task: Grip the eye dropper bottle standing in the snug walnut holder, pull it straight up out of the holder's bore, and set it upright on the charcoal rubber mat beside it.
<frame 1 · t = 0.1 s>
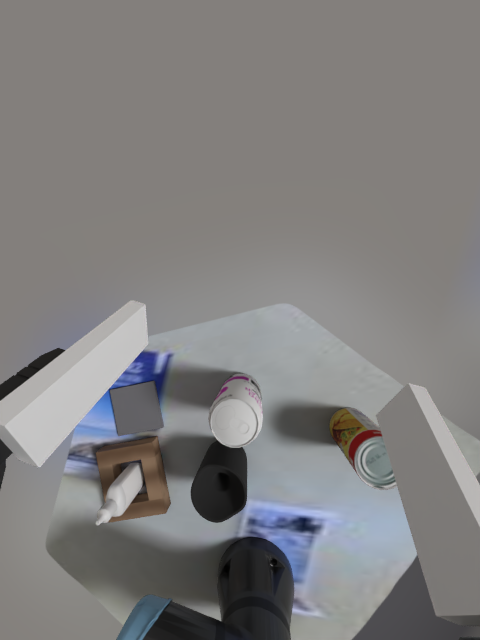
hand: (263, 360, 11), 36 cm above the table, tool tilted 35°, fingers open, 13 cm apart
bottle holder: (136, 474, 48), on the table
rubber mat: (137, 407, 49), on the table
pen holder: (226, 458, 47), on the table
canned food: (348, 426, 46), on the table
eye dropper bottle: (137, 473, 49), resting in bottle holder
supplement can: (241, 391, 47), on the table
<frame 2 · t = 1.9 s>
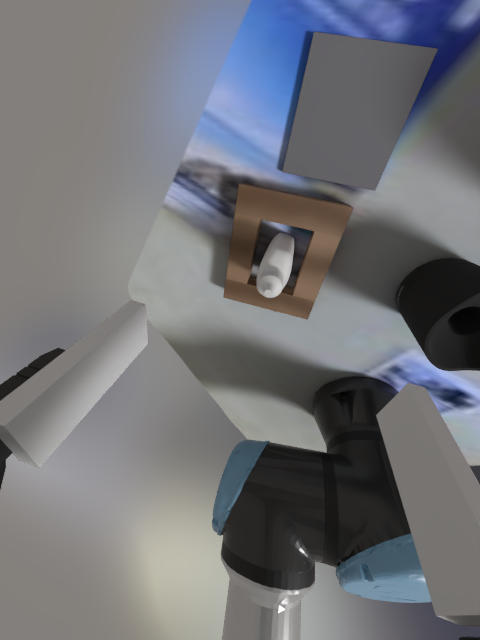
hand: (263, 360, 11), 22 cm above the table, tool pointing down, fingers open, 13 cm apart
bottle holder: (279, 254, 30), on the table
rubber mat: (346, 121, 22), on the table
pen holder: (433, 290, 28), on the table
eye dropper bottle: (279, 253, 30), resting in bottle holder
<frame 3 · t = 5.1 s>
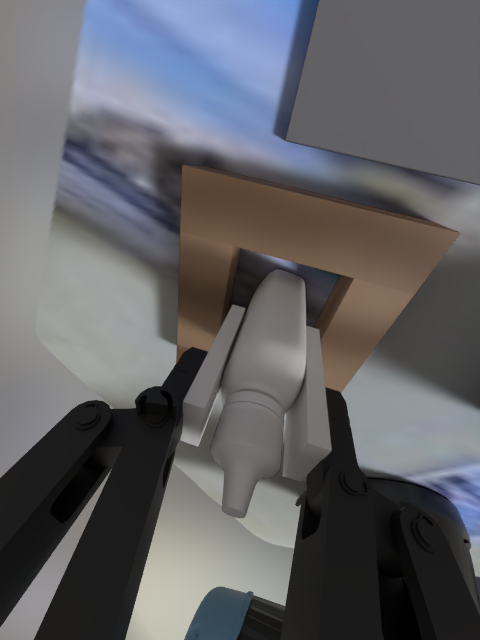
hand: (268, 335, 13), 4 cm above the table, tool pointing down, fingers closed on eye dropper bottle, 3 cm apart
bottle holder: (274, 305, 16), on the table
eye dropper bottle: (275, 303, 16), resting in bottle holder, touching gripper
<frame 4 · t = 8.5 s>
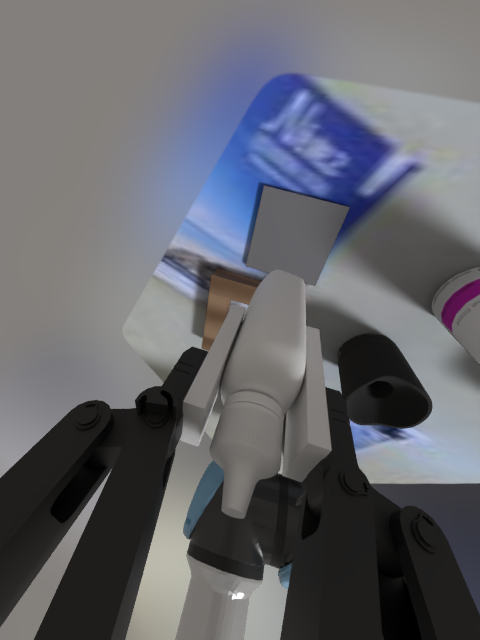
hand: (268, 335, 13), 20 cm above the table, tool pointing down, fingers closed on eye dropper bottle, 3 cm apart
bottle holder: (246, 318, 37), on the table
rubber mat: (292, 239, 29), on the table
pen holder: (366, 353, 36), on the table
eye dropper bottle: (275, 303, 16), point 16 cm above the table, touching gripper
supplement can: (468, 295, 28), on the table
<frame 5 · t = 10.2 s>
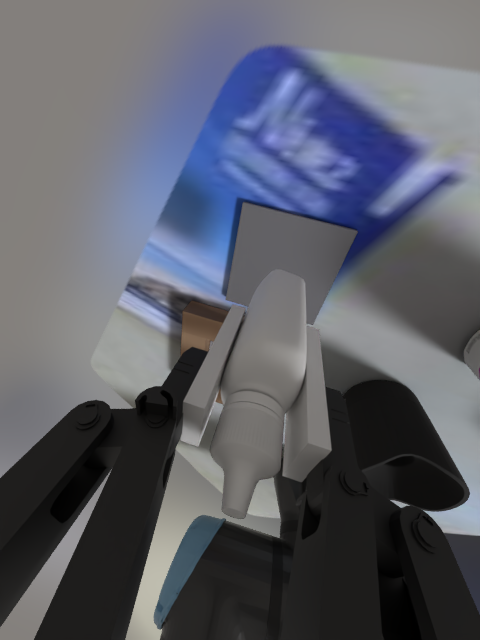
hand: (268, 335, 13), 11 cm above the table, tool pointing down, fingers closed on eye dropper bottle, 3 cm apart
bottle holder: (230, 357, 31), on the table
rubber mat: (282, 268, 22), on the table
pen holder: (376, 400, 29), on the table
eye dropper bottle: (275, 303, 16), point 8 cm above the table, touching gripper
when the fingers open (6 cm above the table, at t = 11.9 s): eye dropper bottle drops 1 cm, resting on rubber mat.
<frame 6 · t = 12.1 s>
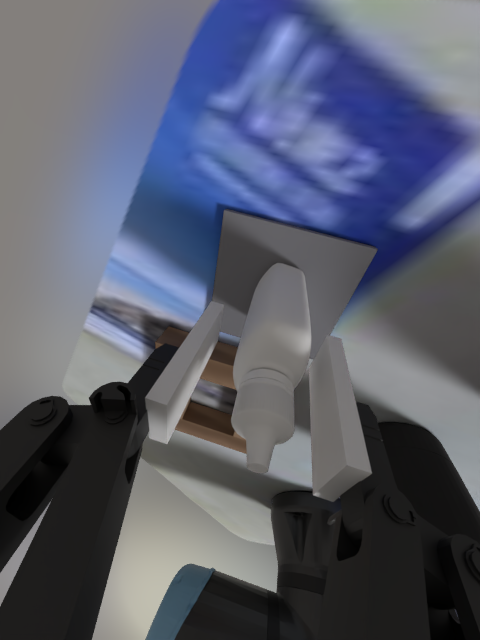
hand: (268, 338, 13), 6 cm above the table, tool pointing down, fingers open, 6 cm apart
bottle holder: (218, 389, 26), on the table
rubber mat: (277, 292, 18), on the table
pen holder: (390, 442, 25), on the table
eye dropper bottle: (276, 295, 17), resting on rubber mat
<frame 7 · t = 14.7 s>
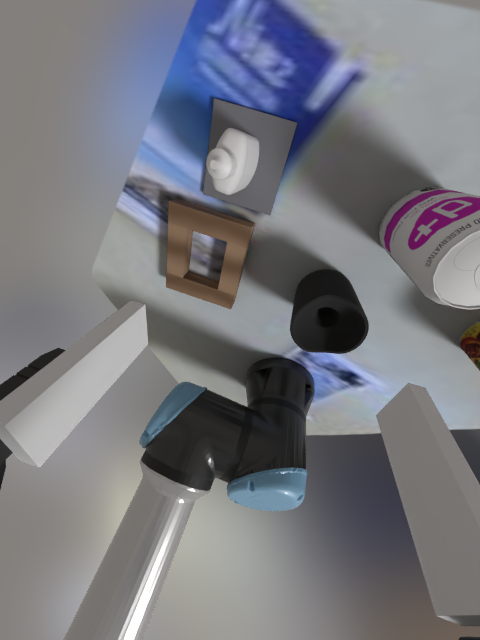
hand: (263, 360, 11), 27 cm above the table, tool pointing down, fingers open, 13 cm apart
bottle holder: (208, 255, 38), on the table
rubber mat: (245, 162, 29), on the table
pen holder: (322, 292, 37), on the table
eye dropper bottle: (244, 162, 29), resting on rubber mat
supplement can: (413, 223, 29), on the table
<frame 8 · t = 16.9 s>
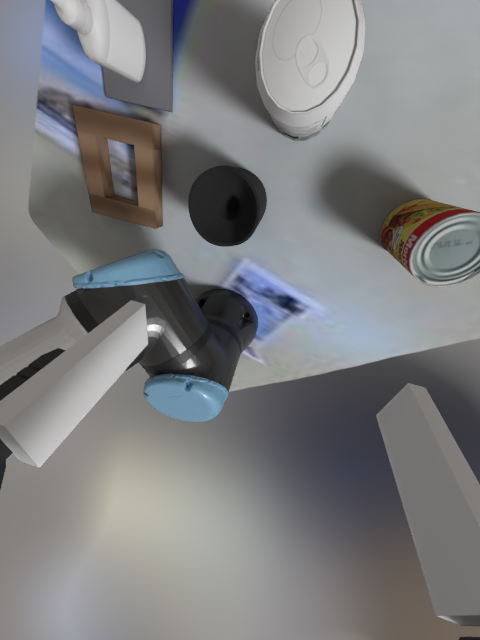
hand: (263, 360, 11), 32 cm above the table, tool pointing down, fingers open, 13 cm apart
bottle holder: (127, 172, 38), on the table
rubber mat: (137, 53, 30), on the table
pen holder: (240, 201, 37), on the table
canned food: (409, 228, 34), on the table
eye dropper bottle: (135, 53, 29), resting on rubber mat
supplement can: (304, 100, 29), on the table
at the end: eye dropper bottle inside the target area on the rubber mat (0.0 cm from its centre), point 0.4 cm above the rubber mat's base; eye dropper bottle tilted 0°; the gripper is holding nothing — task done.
